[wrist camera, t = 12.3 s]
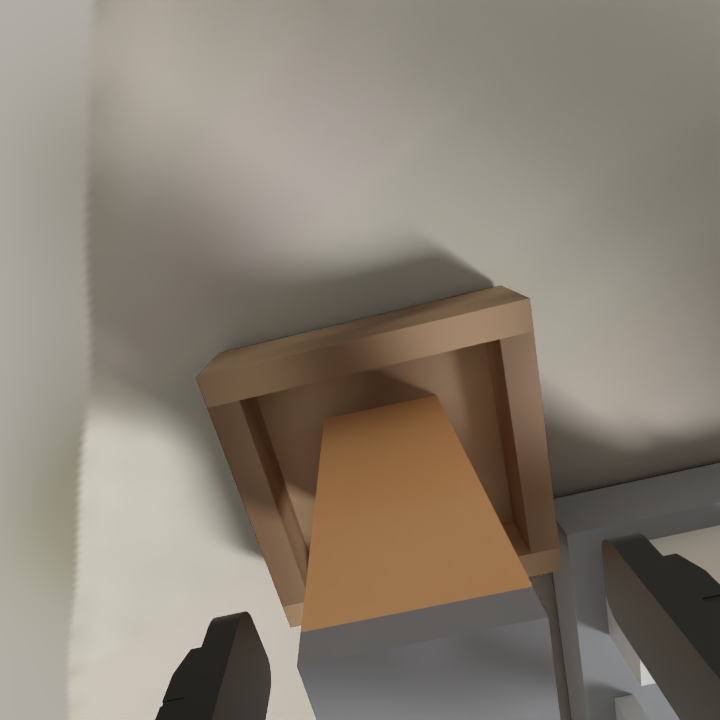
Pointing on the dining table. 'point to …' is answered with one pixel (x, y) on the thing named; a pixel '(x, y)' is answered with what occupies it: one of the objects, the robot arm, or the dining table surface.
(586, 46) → the dining table surface
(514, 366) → the tray
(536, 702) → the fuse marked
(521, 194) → the dining table surface
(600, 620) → the fuse block
